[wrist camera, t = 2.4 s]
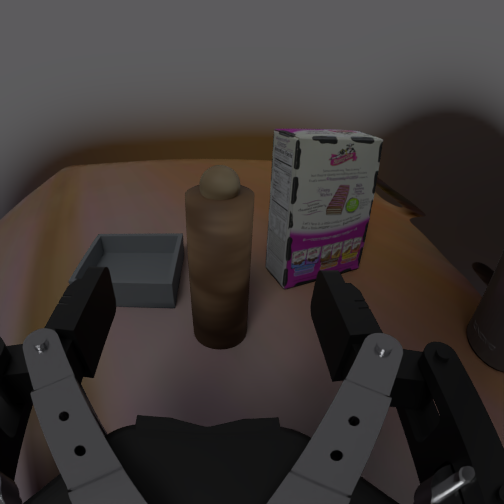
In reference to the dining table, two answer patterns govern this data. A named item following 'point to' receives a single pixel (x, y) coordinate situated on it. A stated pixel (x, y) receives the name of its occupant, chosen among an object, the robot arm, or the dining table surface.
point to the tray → (138, 267)
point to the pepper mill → (219, 256)
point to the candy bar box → (319, 201)
